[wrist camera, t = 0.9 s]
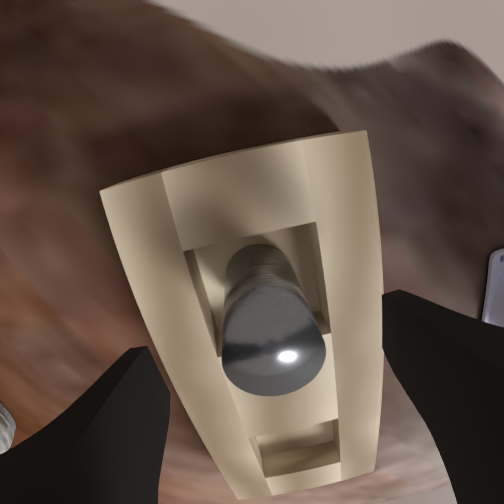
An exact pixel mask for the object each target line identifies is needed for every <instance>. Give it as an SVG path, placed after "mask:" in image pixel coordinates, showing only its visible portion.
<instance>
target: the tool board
mask: <svg viewBox="0 0 504 504" xmlns="http://www.w3.org/2000/svg"><path fill="white" fill-rule="evenodd" d="M99 192H100V195H101V199H102V202H103V206H104V209H105V212H106V216H107V219H108V222H109V225H110V228H111V232H112V235H113V238H114V241H115V244H116V247H117V250H118V253H119V255H120V258H121V261H122V264H123V267H124V270H125V272H126V275H127V278H128V281H129V283H130V286H131V289H132V291H133V294H134V296H135V299H136V301H137V304H138V306H139V309H140V311H141V314H142V316H143V319H144V321H145V324H146V326H147V328H148V331H149V333H150V335H151V338H152V340H153V342H154V345H155V347H156V349H157V351H158V353H159V356H160V358H161V360H162V362H163V364H164V367H165V369H166V371H167V373H168V375H169V377H170V379H171V381H172V383H173V385H174V387H175V389H176V391H177V393H178V395H179V397H180V399H181V401H182V403H183V405H184V407H185V409H186V411H187V413H188V415H189V417H190V419H191V421H192V422H193V424H194V426H195V428H196V430H197V432H198V433H199V435H200V437H201V439H202V441H203V442H204V444H205V446H206V448H207V449H208V451H209V453H210V455H211V456H212V458H213V460H214V461H215V463H216V465H217V466H218V468H219V470H220V471H221V473H222V475H223V476H224V478H225V479H226V481H227V483H228V484H229V486H230V487H231V489H232V490H233V492H234V493H235V495H236V497H237V498H238V500H241V499H250V498H258V497H265V496H272V495H278V494H284V493H289V492H295V491H300V490H305V489H309V488H314V487H318V486H322V485H327V484H331V483H335V482H338V481H342V480H346V479H349V478H353V477H356V476H360V475H363V474H366V473H369V472H372V471H374V467H375V460H376V452H377V444H378V434H379V424H380V413H381V399H382V382H383V356H384V351H383V349H382V294H383V273H382V256H381V241H380V229H379V218H378V209H377V200H376V191H375V183H374V176H373V168H372V162H371V155H370V149H369V143H368V137H367V131H366V130H360V131H340V132H333V133H326V134H320V135H314V136H308V137H302V138H296V139H291V140H285V141H280V142H275V143H270V144H265V145H260V146H255V147H251V148H246V149H241V150H237V151H232V152H228V153H224V154H219V155H215V156H211V157H207V158H203V159H199V160H195V161H191V162H187V163H184V164H180V165H176V166H172V167H169V168H165V169H162V170H158V171H155V172H151V173H148V174H144V175H141V176H138V177H134V178H131V179H128V180H125V181H122V182H120V183H117V184H115V185H113V186H110V187H108V188H106V189H103V190H101V191H99ZM252 244H267V245H271V246H274V247H276V248H278V249H279V250H281V251H282V252H283V253H284V254H285V255H286V256H287V258H288V259H289V261H290V263H291V265H292V268H293V270H294V272H295V274H296V277H297V279H298V281H299V283H300V286H301V288H302V290H303V293H304V295H305V297H306V299H307V302H308V304H309V306H310V309H311V311H312V313H313V316H314V318H315V320H316V323H317V325H318V327H319V330H320V332H321V334H322V337H323V339H324V342H325V346H326V358H325V361H324V364H323V366H322V369H321V370H320V372H319V373H318V374H317V376H316V377H315V378H314V379H313V380H312V381H311V382H310V383H308V384H307V385H306V386H304V387H302V388H301V389H299V390H296V391H294V392H291V393H289V394H285V395H280V396H258V395H253V394H250V393H247V392H245V391H243V390H241V389H239V388H238V387H236V386H235V385H234V384H233V383H232V382H231V381H230V380H229V379H228V378H227V376H226V375H225V373H224V370H223V367H222V360H221V359H222V334H223V311H224V291H225V273H226V267H227V265H228V262H229V261H230V259H231V258H232V256H233V255H234V254H235V253H236V252H237V251H239V250H240V249H242V248H244V247H246V246H249V245H252Z"/></svg>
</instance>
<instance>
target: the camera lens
mask: <svg viewBox="0 0 504 504" xmlns="http://www.w3.org/2000/svg"><path fill="white" fill-rule="evenodd" d="M15 429H16V424H15V421H14V419H13V417H12V415H11V414H10V412H9V411H8V410H7V409H6V408H5V406H4V405H3V404H2V403H1V402H0V454H2V453H4V452H6V451H7V450H8V449H9V447H10V445H11V442H12V440H13V437H14V431H15Z"/></svg>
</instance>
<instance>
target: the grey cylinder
mask: <svg viewBox="0 0 504 504" xmlns="http://www.w3.org/2000/svg"><path fill="white" fill-rule="evenodd" d="M325 358H326V346H325V342H324V339H323V337H322V334H321V332H320V330H319V327H318V325H317V323H316V320H315V318H314V316H313V313H312V311H311V309H310V306H309V304H308V302H307V299H306V297H305V295H304V293H303V290H302V288H301V286H300V283H299V281H298V279H297V277H296V274H295V272H294V270H293V268H292V265H291V263H290V261H289V259H288V258H287V256H286V255H285V254H284V253H283V252H282V251H281V250H279V249H278V248H276V247H274V246H271V245H267V244H252V245H249V246H246V247H244V248H242V249H240V250H239V251H237V252H236V253H235V254H234V255H233V256H232V258H231V259H230V261H229V262H228V265H227V267H226V273H225V291H224V311H223V334H222V359H221V360H222V367H223V370H224V373H225V375H226V376H227V378H228V379H229V380H230V381H231V382H232V383H233V384H234V385H235V386H236V387H238V388H239V389H241V390H243V391H245V392H247V393H250V394H253V395H258V396H280V395H285V394H289V393H291V392H294V391H296V390H299V389H301V388H302V387H304V386H306V385H307V384H308V383H310V382H311V381H312V380H313V379H314V378H315V377H316V376H317V374H318V373H319V372H320V370H321V369H322V366H323V364H324V361H325Z"/></svg>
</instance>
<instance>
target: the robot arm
mask: <svg viewBox="0 0 504 504" xmlns="http://www.w3.org/2000/svg"><path fill="white" fill-rule="evenodd" d="M382 349H383V351H384V353H385V355H386V358H387V360H388V362H389V364H390V366H391V368H392V370H393V372H394V374H395V376H396V377H397V379H398V380H399V382H400V384H401V385H402V387H403V388H404V390H405V391H406V393H407V395H408V396H409V398H410V399H411V401H412V402H413V404H414V405H415V407H416V409H417V410H418V412H419V413H420V415H421V417H422V418H423V420H424V421H425V423H426V425H427V427H428V429H429V430H430V432H431V434H432V436H433V439H434V441H435V443H436V446H437V448H438V450H439V452H440V455H441V457H442V460H443V462H444V465H445V468H446V470H447V473H448V476H449V478H450V481H451V484H452V488H453V491H454V494H455V497H456V501H457V504H504V248H503V249H500V250H497V251H495V252H493V253H492V254H491V256H490V259H489V268H488V278H487V287H486V295H485V302H484V309H483V315H482V321H480V320H477V319H474V318H471V317H469V316H466V315H463V314H460V313H458V312H455V311H453V310H450V309H448V308H445V307H443V306H440V305H438V304H435V303H433V302H431V301H428V300H426V299H423V298H421V297H419V296H416V295H414V294H411V293H408V292H406V291H402V290H396V291H392V292H389V293H385V294H382ZM169 416H170V392H169V390H168V388H167V386H166V384H165V382H164V380H163V378H162V376H161V374H160V372H159V370H158V368H157V366H156V363H155V361H154V359H153V357H152V355H151V353H150V351H149V348H148V346H143V347H136V348H130V349H129V350H128V351H126V352H125V353H124V354H123V355H122V356H121V357H120V358H119V359H118V360H117V361H116V362H115V363H114V364H113V365H112V366H111V367H110V368H109V369H108V370H107V371H106V372H105V373H104V374H103V375H102V376H101V377H100V378H99V379H98V380H97V381H96V382H95V383H94V384H93V385H92V386H91V387H90V388H89V389H88V390H87V391H86V392H85V393H83V394H82V395H81V396H80V397H79V398H78V399H77V400H76V401H75V402H74V403H73V404H72V405H71V406H70V407H69V408H67V409H66V410H65V411H64V412H63V413H62V414H60V415H59V416H58V417H57V418H56V419H54V420H53V421H52V422H50V423H49V424H48V425H47V426H45V427H44V428H43V429H41V430H40V431H38V432H37V433H35V434H34V435H32V436H31V437H29V438H28V439H26V440H24V441H23V442H21V443H20V444H18V445H17V446H15V447H13V448H11V449H9V450H7V451H6V452H4V453H2V454H0V504H158V487H159V477H160V471H161V466H162V460H163V454H164V448H165V443H166V437H167V431H168V425H169Z"/></svg>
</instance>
